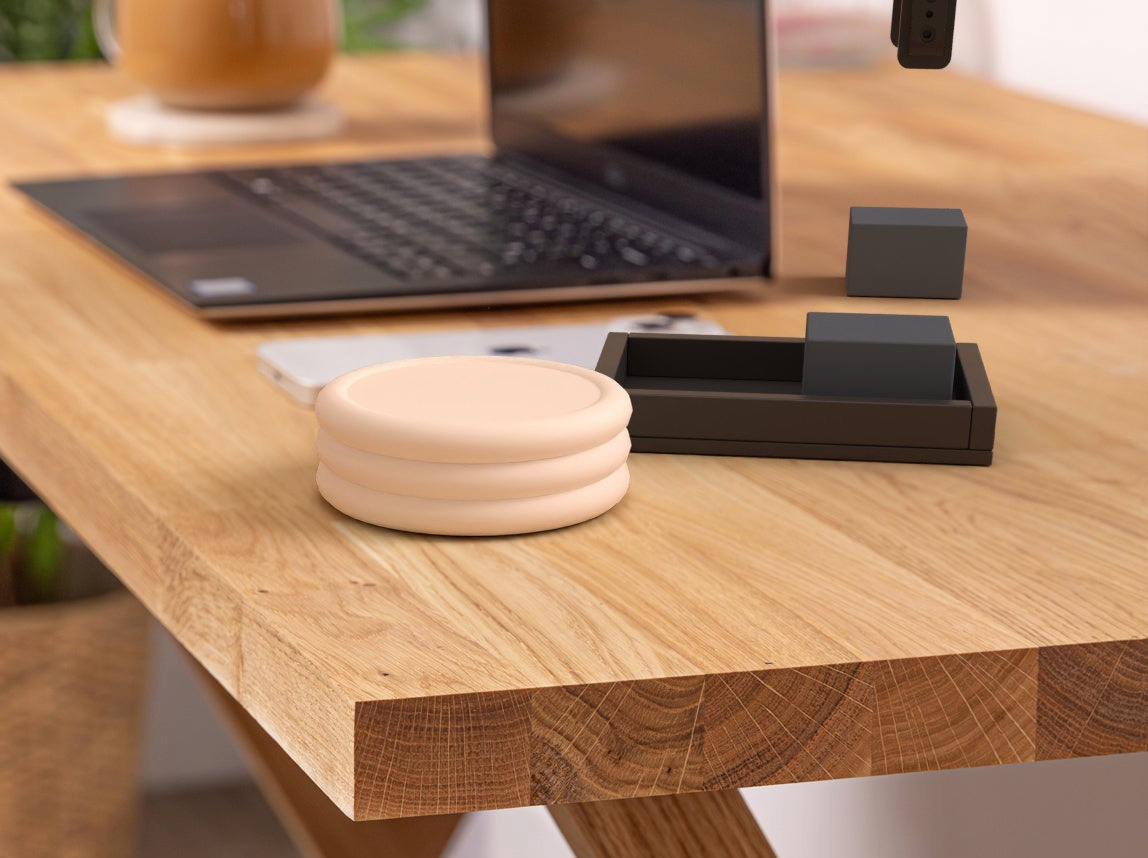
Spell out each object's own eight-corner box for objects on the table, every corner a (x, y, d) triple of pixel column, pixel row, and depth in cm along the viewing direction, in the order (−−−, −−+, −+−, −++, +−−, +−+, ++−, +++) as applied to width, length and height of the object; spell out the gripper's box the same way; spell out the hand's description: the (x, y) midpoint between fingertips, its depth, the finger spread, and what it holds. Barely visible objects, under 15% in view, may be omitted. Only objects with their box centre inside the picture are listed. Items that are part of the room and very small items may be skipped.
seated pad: (941, 397, 82) (948, 315, 80) (948, 430, 77) (957, 343, 76) (801, 392, 82) (806, 311, 81) (801, 424, 78) (807, 339, 77)
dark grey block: (955, 278, 104) (961, 208, 103) (961, 299, 100) (968, 226, 99) (845, 275, 105) (850, 206, 104) (846, 295, 101) (852, 223, 99)
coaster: (545, 440, 78) (547, 340, 77) (685, 518, 70) (690, 407, 68) (273, 472, 75) (270, 367, 73) (386, 558, 66) (385, 441, 65)
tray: (972, 396, 84) (977, 342, 83) (992, 465, 75) (997, 406, 74) (606, 383, 86) (608, 331, 85) (584, 449, 77) (585, 392, 76)
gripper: (1068, -366, 85) (1020, 79, 92) (1033, -346, 98) (994, 42, 104) (866, -365, 86) (832, 75, 93) (858, -345, 99) (829, 39, 106)
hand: (918, 57), depth 99 cm, fingers open, 8 cm apart
